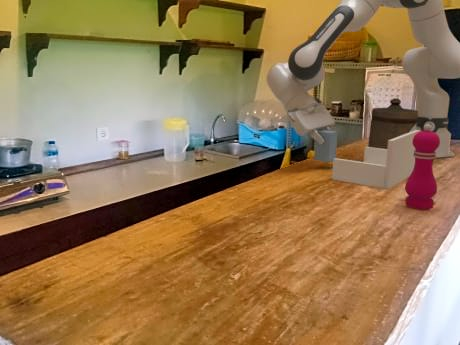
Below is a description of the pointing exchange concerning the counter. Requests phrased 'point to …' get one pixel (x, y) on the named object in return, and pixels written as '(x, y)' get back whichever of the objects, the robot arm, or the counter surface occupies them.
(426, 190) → the pepper mill
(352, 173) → the open box
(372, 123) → the wooden container
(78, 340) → the counter surface
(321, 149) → the block
